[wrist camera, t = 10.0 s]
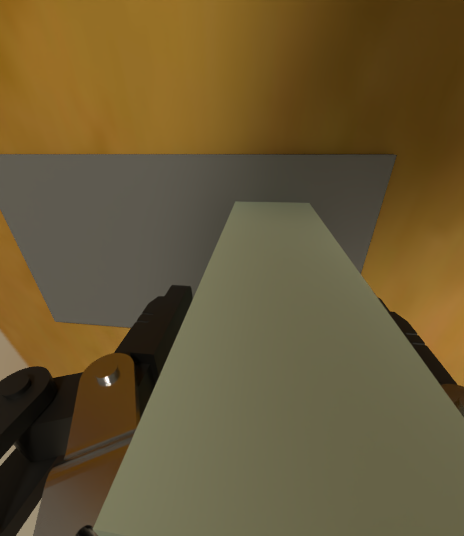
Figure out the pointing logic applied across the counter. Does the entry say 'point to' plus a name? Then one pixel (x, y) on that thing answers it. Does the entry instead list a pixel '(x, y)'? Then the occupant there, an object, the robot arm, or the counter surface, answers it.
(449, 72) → the counter surface
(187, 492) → the slab
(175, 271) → the mat
